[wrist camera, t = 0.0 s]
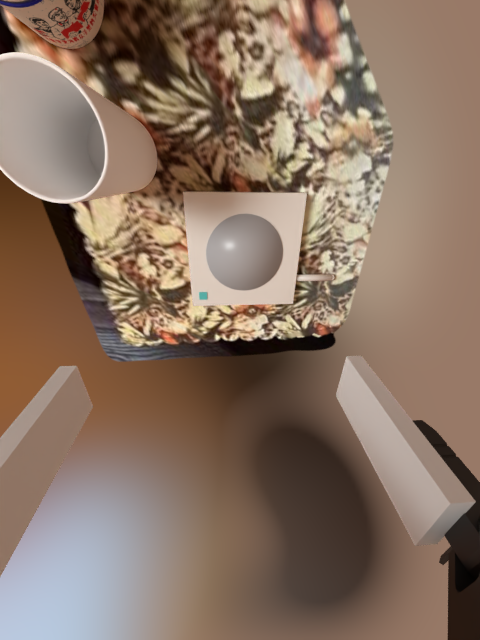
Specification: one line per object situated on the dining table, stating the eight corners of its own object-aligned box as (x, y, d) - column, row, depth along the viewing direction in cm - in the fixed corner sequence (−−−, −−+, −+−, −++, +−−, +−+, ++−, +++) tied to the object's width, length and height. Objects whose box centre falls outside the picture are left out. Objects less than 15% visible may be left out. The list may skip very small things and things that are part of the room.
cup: (159, 121, 30) (106, 74, 16) (155, 198, 33) (110, 214, 20) (83, 101, 28) (-49, 30, 14) (89, 183, 32) (-11, 190, 18)
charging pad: (184, 191, 33) (182, 192, 32) (350, 192, 35) (355, 193, 33) (193, 301, 41) (192, 306, 40) (328, 298, 43) (332, 303, 41)
